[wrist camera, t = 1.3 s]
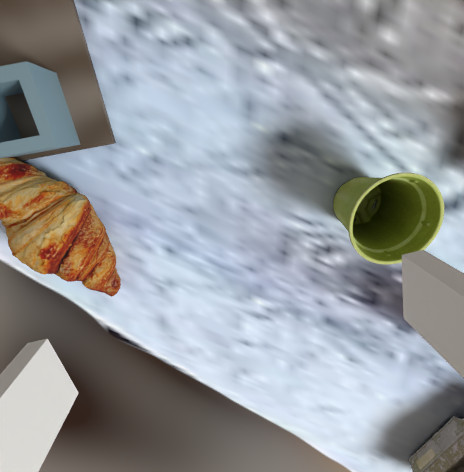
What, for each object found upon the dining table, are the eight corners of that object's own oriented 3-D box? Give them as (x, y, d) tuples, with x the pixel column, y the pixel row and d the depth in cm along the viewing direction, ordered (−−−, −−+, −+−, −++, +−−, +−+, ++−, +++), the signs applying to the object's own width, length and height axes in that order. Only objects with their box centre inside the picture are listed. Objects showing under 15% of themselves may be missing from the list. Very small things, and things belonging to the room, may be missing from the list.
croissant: (-6, 157, 36) (-82, 185, 30) (19, 108, 30) (-69, 131, 24) (116, 281, 42) (74, 326, 36) (157, 261, 36) (115, 310, 30)
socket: (-13, 85, 30) (-55, 76, 25) (56, 72, 30) (26, 61, 25) (17, 156, 32) (-17, 160, 27) (80, 144, 32) (57, 146, 27)
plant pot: (378, 241, 39) (422, 270, 31) (311, 231, 38) (338, 258, 30) (403, 171, 36) (460, 181, 28) (331, 157, 35) (367, 164, 27)
